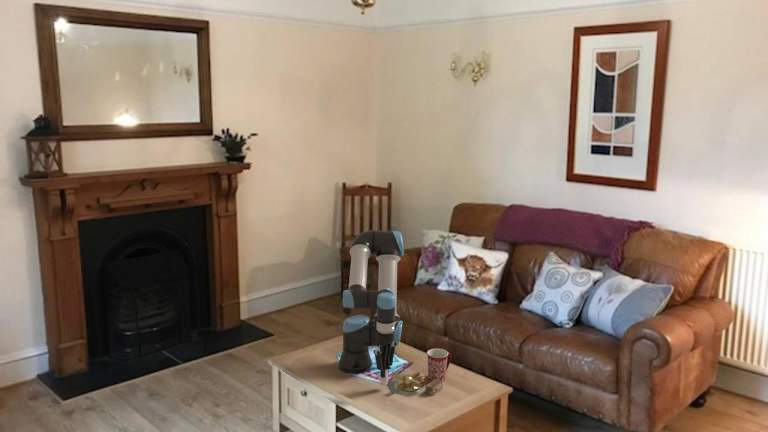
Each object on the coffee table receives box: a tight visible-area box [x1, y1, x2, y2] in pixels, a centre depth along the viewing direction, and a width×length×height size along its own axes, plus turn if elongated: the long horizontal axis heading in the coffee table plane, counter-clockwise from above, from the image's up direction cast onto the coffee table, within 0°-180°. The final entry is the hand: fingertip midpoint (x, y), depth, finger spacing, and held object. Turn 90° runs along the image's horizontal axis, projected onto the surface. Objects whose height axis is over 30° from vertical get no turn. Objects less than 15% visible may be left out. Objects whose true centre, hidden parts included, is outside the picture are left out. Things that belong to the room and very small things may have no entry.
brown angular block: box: [425, 379, 443, 397], centre depth 265 cm, size 4×8×5 cm, turn 142°
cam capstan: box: [390, 371, 425, 392], centre depth 268 cm, size 16×16×7 cm
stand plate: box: [387, 378, 426, 397], centre depth 269 cm, size 16×16×2 cm
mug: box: [426, 348, 452, 383], centre depth 277 cm, size 13×9×14 cm
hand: (384, 383), depth 266 cm, fingers closed
